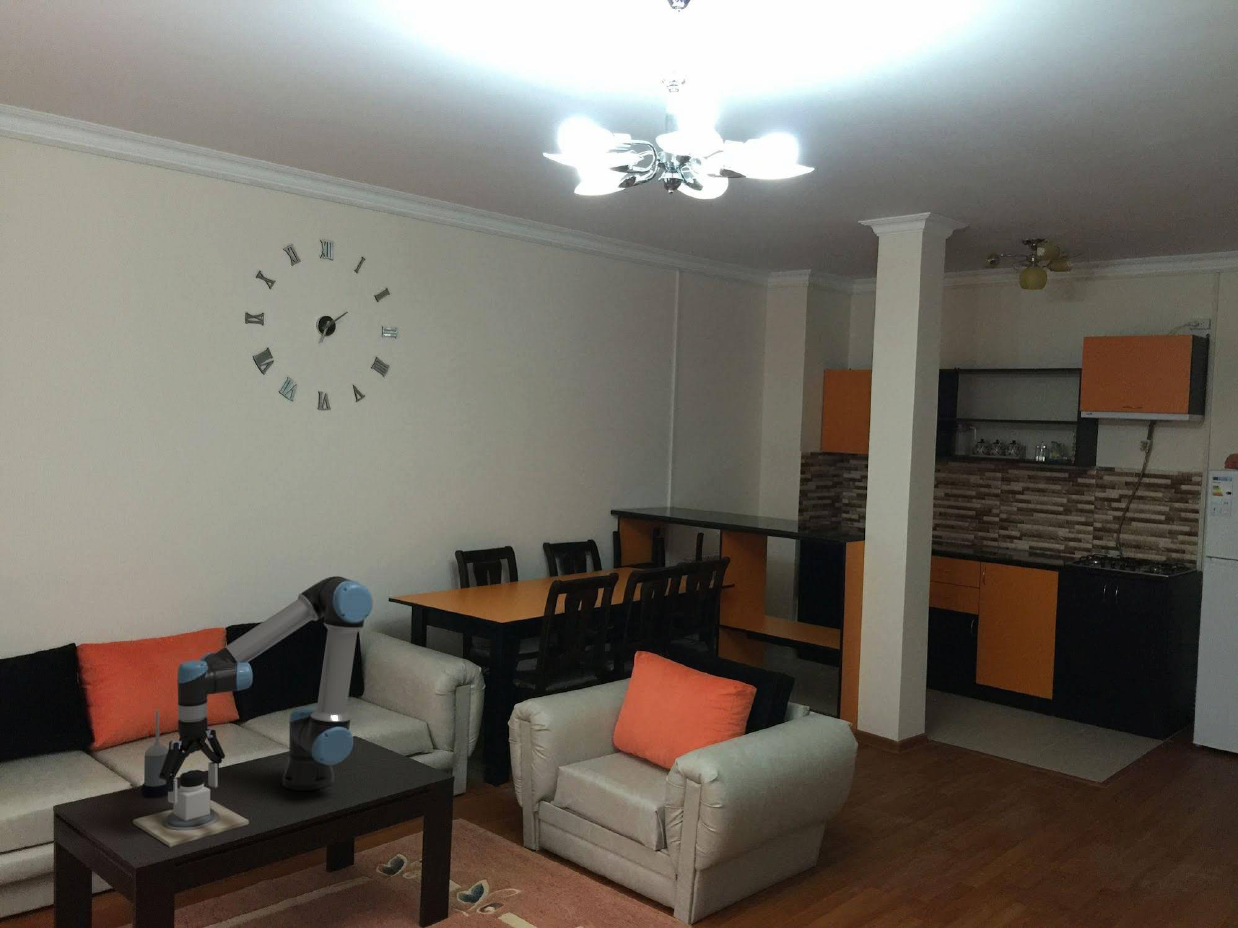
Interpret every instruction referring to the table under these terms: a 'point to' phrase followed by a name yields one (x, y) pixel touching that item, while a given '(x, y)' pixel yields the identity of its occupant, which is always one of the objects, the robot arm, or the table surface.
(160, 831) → the square wooden board
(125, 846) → the table surface
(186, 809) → the medicine bottle
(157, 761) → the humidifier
